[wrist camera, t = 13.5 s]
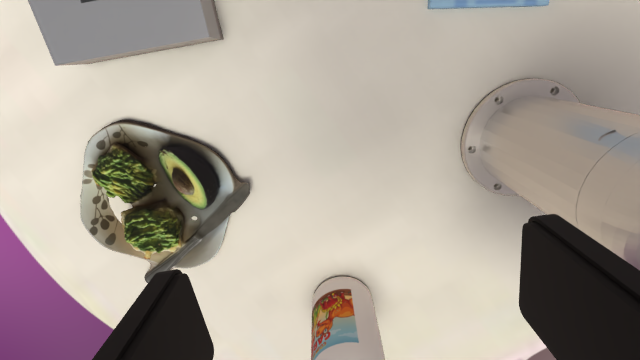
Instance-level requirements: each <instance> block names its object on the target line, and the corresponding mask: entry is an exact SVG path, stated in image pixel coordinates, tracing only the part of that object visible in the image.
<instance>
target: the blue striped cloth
mask: <svg viewBox="0 0 640 360" xmlns="http://www.w3.org/2000/svg"><path fill="white" fill-rule="evenodd" d="M548 4H549V0H428V9H449V8H487V7H525V6H546V5H548Z"/></svg>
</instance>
